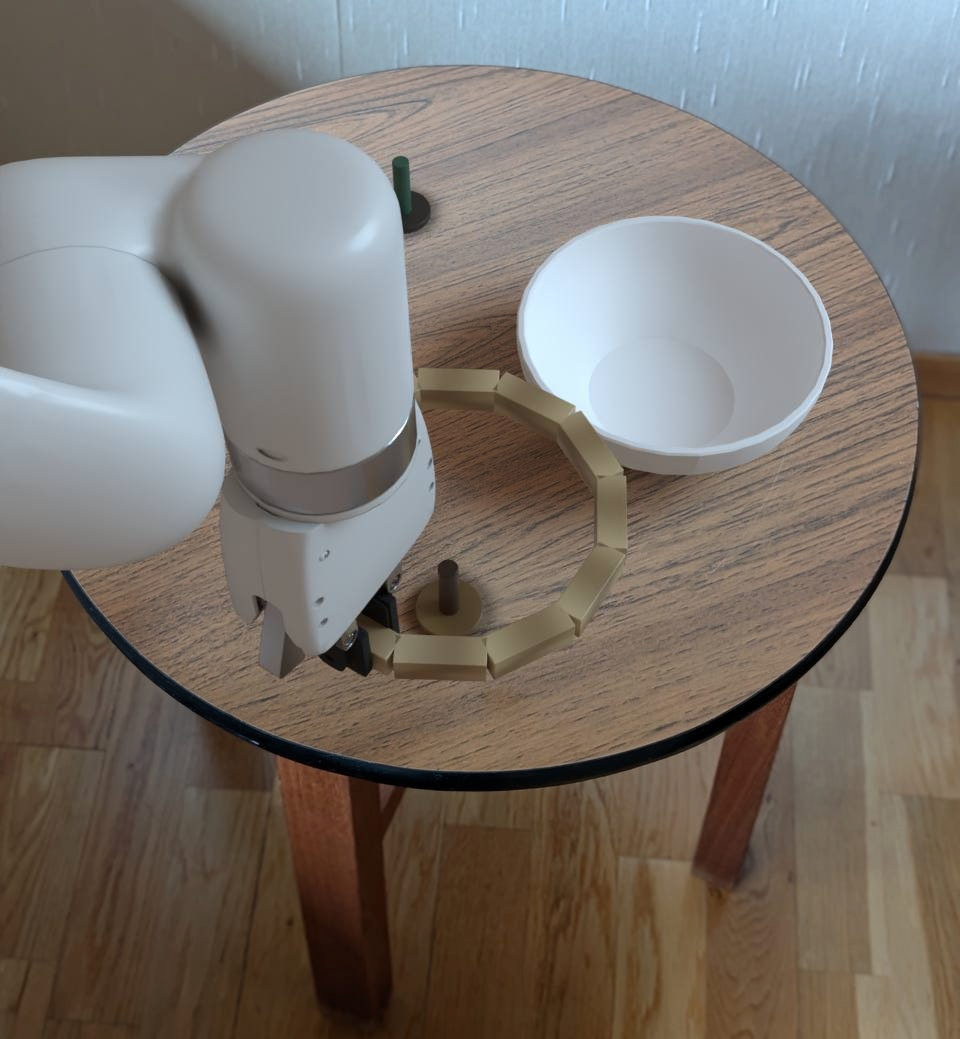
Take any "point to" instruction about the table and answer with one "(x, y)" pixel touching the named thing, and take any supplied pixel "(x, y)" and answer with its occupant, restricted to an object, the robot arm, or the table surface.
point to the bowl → (676, 341)
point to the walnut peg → (449, 604)
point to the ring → (588, 586)
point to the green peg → (409, 198)
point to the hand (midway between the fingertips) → (357, 641)
